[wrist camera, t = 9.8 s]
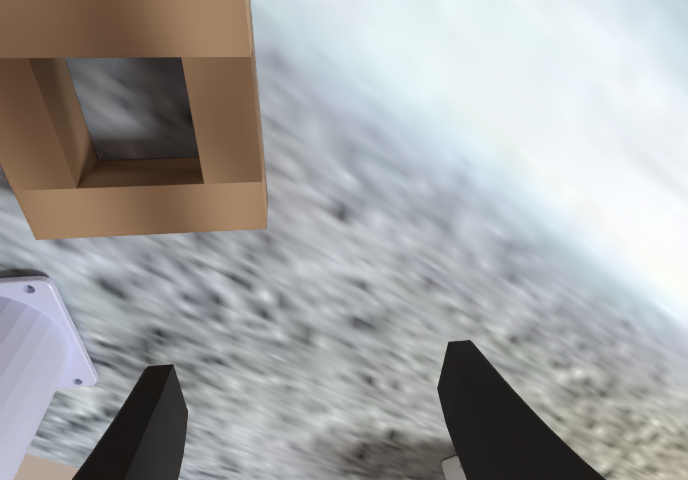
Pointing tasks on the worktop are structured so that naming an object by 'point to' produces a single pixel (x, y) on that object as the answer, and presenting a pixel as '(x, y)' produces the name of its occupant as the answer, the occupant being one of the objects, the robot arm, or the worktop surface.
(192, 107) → the socket block
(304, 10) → the worktop surface
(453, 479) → the skincare box
